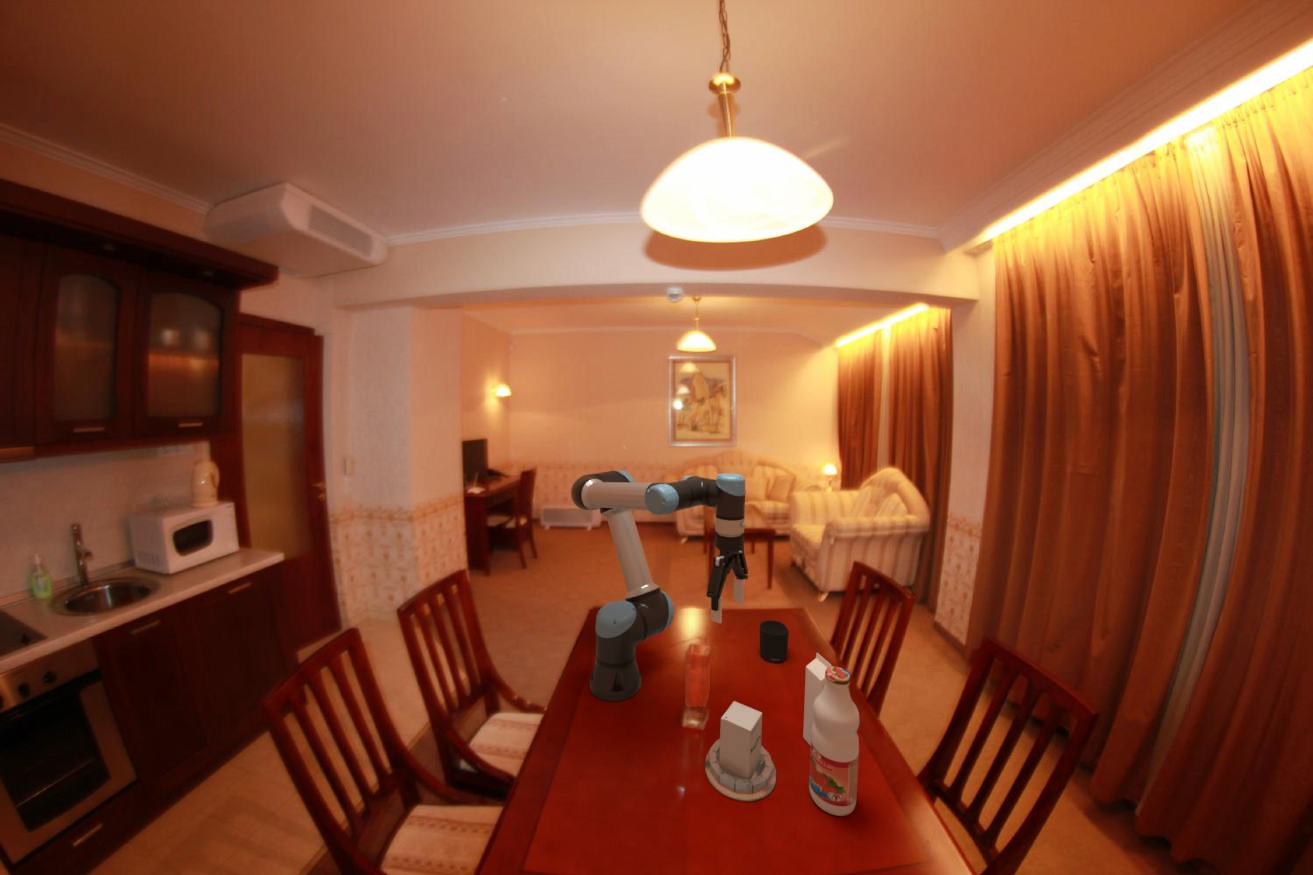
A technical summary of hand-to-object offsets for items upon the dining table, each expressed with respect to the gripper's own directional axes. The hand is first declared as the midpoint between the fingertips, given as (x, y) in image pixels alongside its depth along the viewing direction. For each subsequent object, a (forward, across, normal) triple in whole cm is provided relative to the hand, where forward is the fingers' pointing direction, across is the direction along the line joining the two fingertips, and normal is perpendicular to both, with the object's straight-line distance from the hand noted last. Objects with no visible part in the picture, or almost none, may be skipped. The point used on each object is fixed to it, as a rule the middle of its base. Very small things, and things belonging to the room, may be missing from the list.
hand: (727, 611), depth 118 cm
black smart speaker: (+29, +34, -1) cm, 45 cm away
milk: (+29, +4, -24) cm, 38 cm away
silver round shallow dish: (+29, -15, -11) cm, 34 cm away
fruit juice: (+29, -10, -30) cm, 43 cm away
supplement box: (+28, -15, -11) cm, 34 cm away
